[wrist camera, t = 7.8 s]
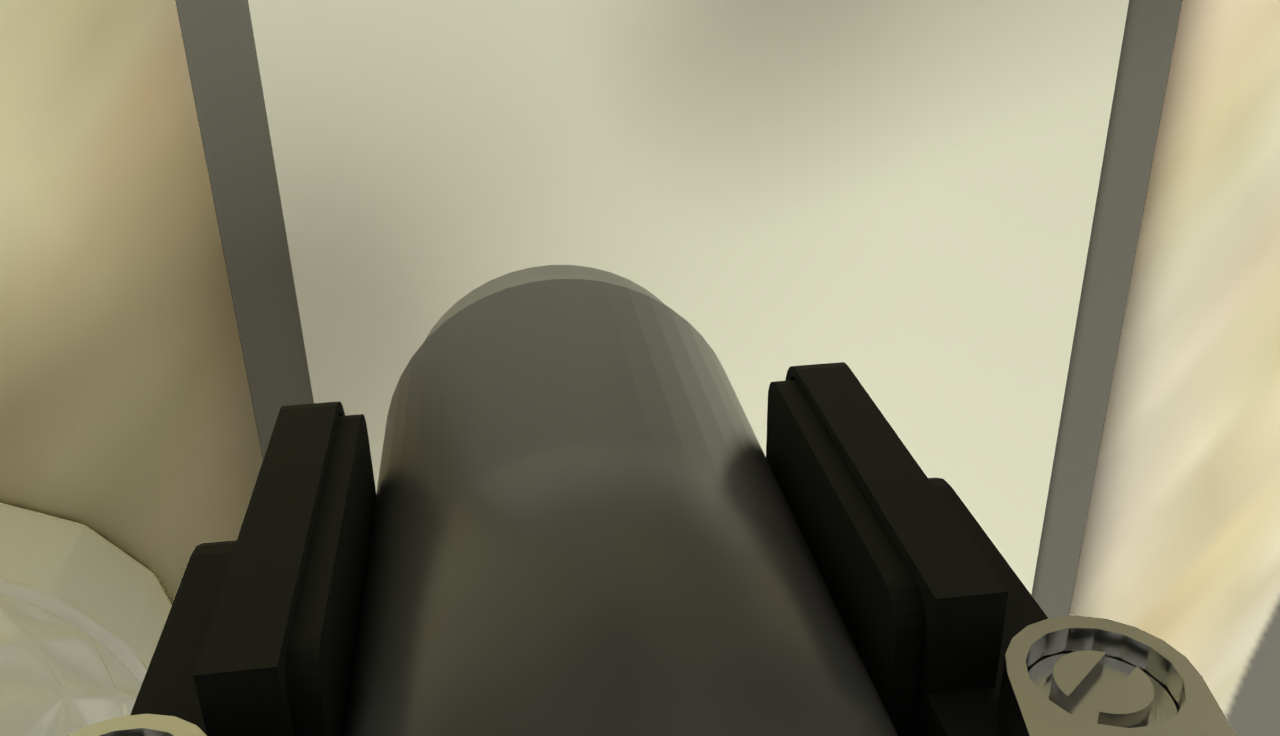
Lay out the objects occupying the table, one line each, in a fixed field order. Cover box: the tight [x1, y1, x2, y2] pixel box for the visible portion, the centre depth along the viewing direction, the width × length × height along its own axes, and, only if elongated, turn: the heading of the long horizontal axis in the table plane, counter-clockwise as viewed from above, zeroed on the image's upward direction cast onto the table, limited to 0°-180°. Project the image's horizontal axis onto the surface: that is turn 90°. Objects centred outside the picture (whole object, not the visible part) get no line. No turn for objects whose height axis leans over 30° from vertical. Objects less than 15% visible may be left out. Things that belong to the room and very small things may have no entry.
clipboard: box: [176, 0, 1182, 618], centre depth 20 cm, size 22×15×2 cm
